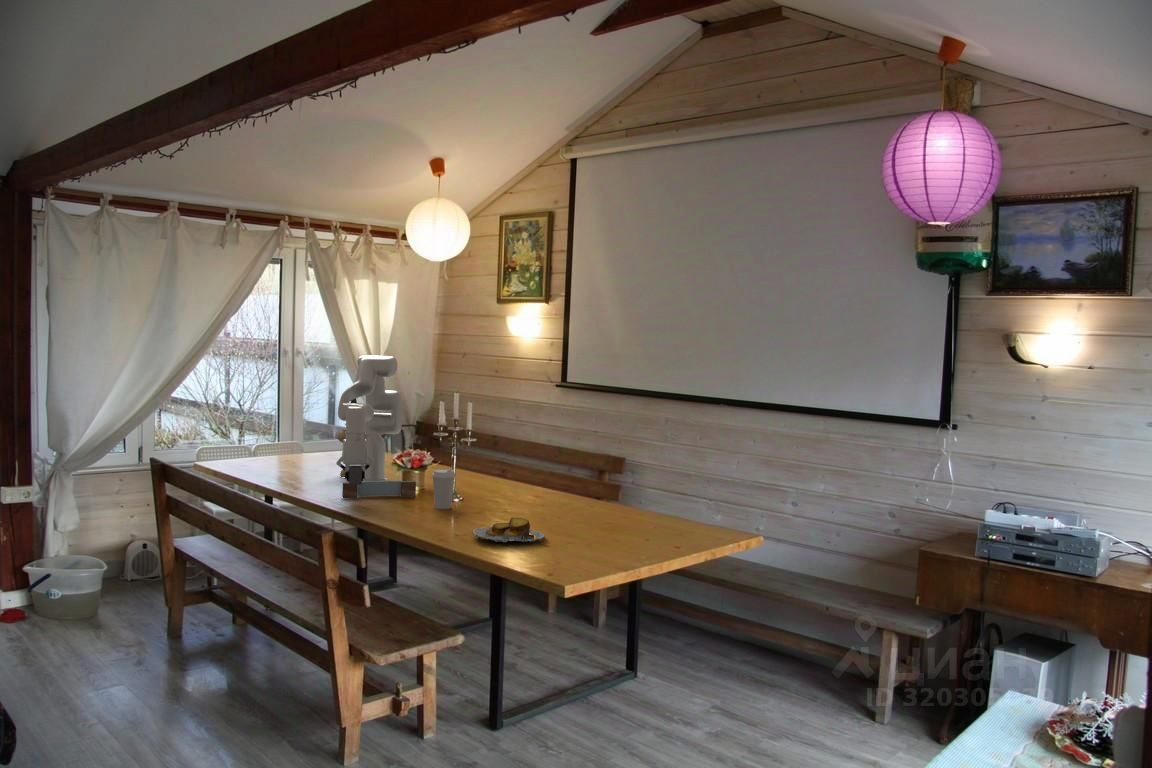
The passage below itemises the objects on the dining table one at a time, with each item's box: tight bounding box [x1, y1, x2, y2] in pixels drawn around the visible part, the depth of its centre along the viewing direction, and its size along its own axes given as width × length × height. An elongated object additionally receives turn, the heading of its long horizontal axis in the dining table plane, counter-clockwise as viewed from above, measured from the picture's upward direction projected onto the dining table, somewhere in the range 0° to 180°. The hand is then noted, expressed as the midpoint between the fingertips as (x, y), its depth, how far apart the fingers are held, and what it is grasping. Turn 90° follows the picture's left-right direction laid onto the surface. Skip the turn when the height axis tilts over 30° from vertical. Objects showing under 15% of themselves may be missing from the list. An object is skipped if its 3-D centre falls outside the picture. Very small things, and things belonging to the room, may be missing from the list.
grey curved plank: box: [358, 480, 402, 497], centre depth 366 cm, size 2×18×6 cm, turn 108°
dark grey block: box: [348, 465, 362, 485], centre depth 352 cm, size 7×5×7 cm
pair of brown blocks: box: [341, 480, 417, 499], centre depth 363 cm, size 2×30×6 cm, turn 108°
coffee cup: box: [431, 468, 457, 510], centre depth 348 cm, size 10×10×15 cm
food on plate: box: [472, 516, 546, 543], centre depth 302 cm, size 25×25×7 cm
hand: (354, 480), depth 352 cm, fingers closed on dark grey block, 5 cm apart
